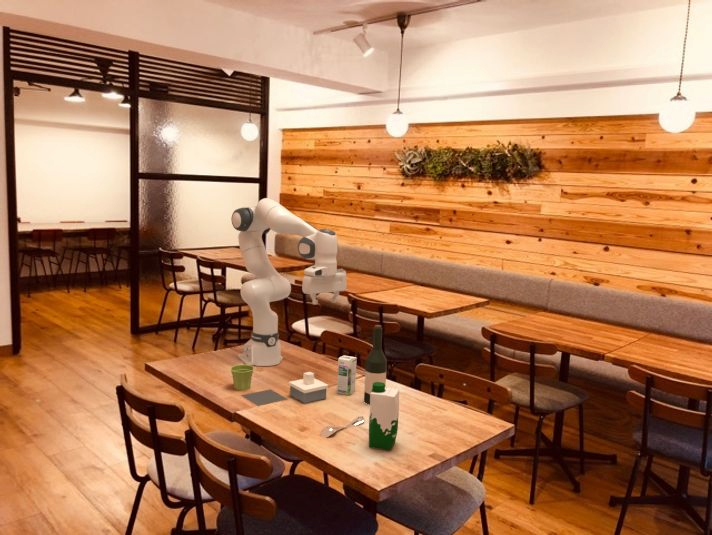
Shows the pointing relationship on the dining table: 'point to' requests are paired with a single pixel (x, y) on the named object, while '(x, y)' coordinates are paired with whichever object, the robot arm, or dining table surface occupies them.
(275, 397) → the coaster
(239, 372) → the plant pot
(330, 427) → the silver spoon
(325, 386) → the lid
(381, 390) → the milk carton
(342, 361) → the syrup box
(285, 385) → the dining table surface
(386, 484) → the dining table surface
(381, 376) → the wine bottle
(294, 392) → the dish
